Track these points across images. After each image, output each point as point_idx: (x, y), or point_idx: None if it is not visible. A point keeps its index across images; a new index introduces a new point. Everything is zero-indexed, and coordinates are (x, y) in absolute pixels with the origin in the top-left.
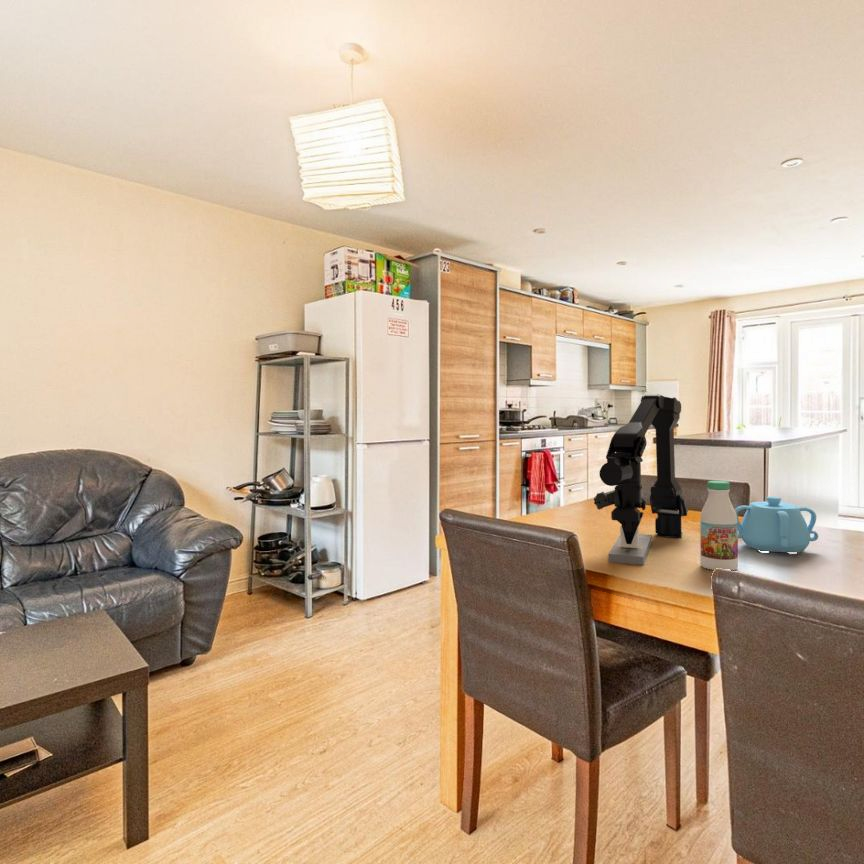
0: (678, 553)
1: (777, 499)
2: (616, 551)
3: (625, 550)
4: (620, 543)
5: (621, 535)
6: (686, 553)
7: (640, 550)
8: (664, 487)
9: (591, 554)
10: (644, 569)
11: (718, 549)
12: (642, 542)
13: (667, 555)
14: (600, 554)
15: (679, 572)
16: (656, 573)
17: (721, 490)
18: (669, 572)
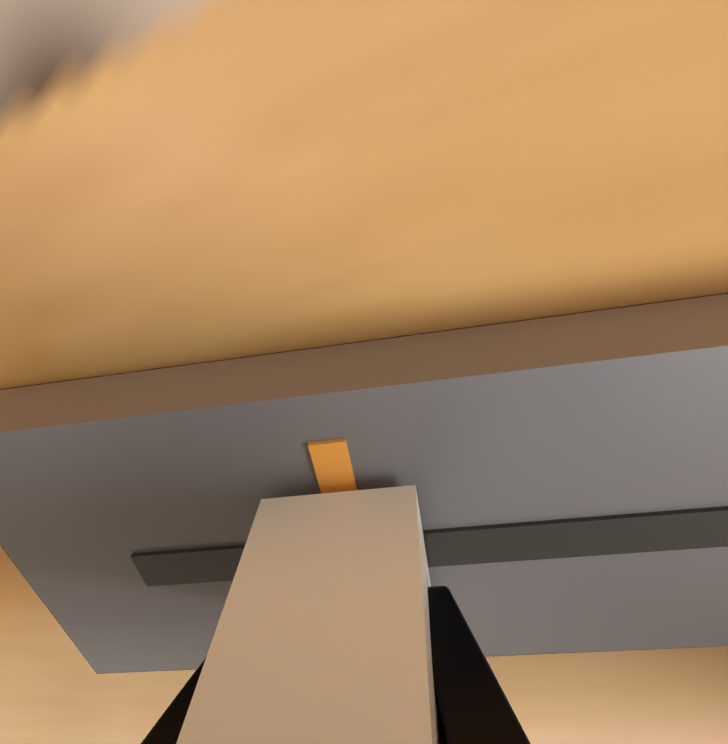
0: (584, 712)
1: None
2: (85, 486)
3: (195, 545)
4: (511, 436)
5: (211, 662)
6: (600, 739)
7: None
8: None
9: (132, 98)
10: (44, 621)
11: None
12: (651, 608)
13: (496, 676)
14: (214, 217)
15: (140, 736)
16: (24, 672)
17: None
18: (100, 709)
